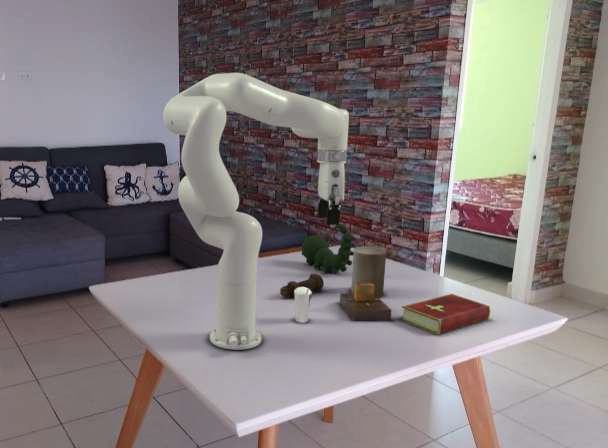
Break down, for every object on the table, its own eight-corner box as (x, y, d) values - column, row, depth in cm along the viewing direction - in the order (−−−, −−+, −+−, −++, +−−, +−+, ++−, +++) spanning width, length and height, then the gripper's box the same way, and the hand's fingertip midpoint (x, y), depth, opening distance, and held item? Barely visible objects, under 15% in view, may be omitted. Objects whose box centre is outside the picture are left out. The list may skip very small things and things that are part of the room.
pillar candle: (390, 295, 171) (393, 248, 168) (363, 299, 168) (366, 250, 165) (369, 286, 180) (373, 240, 177) (344, 289, 177) (347, 243, 173)
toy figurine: (356, 280, 192) (309, 257, 213) (363, 227, 187) (314, 208, 207) (335, 284, 187) (289, 260, 208) (342, 229, 182) (294, 210, 203)
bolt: (280, 303, 168) (315, 292, 177) (291, 299, 164) (326, 288, 173) (274, 285, 170) (309, 275, 178) (284, 280, 166) (319, 270, 174)
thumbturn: (371, 298, 159) (372, 282, 158) (373, 300, 157) (374, 284, 156) (353, 298, 159) (354, 282, 158) (355, 301, 157) (357, 284, 156)
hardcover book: (489, 320, 152) (491, 305, 151) (439, 335, 142) (440, 319, 141) (450, 306, 162) (451, 292, 161) (400, 320, 152) (402, 305, 151)
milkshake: (298, 325, 147) (300, 289, 145) (290, 318, 152) (291, 282, 150) (314, 324, 148) (316, 287, 146) (305, 316, 153) (307, 281, 151)
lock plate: (390, 320, 151) (391, 309, 151) (353, 320, 151) (354, 309, 150) (373, 302, 165) (374, 292, 164) (339, 302, 165) (340, 292, 164)
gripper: (355, 160, 139) (351, 227, 143) (337, 154, 156) (333, 215, 160) (325, 159, 139) (321, 227, 142) (310, 154, 156) (307, 214, 159)
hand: (327, 220), depth 151 cm, fingers open, 9 cm apart
